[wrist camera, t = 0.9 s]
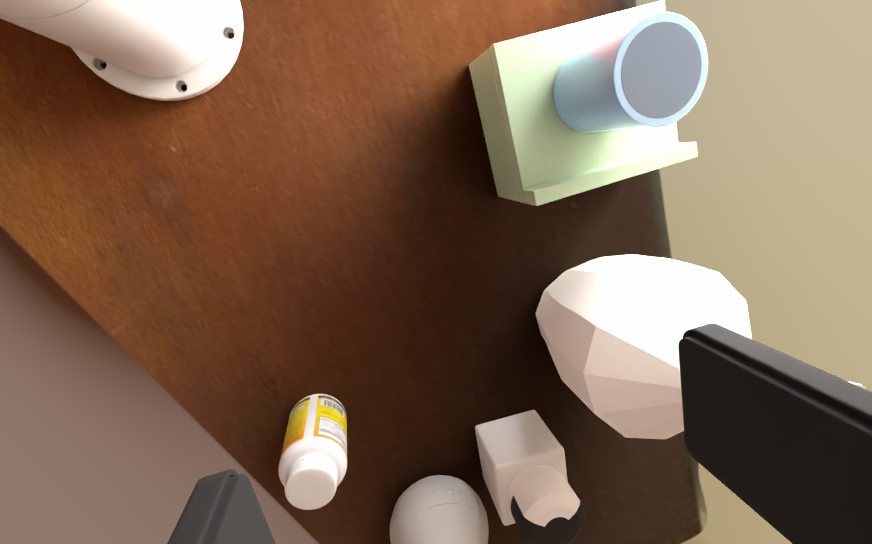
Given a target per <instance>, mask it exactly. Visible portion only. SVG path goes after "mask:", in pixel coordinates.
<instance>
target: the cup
mask: <svg viewBox="0 0 872 544" xmlns="http://www.w3.org/2000/svg"><path fill="white" fill-rule="evenodd" d="M707 72H708V55H707V49H706V45H705V42H704V40H703V37H702V35H701V34H700V32H699V30H698V29H697V28H696V26H695V25H694V24H693V23H692V22H691V21H689V20H688V19H687V18H685V17H683V16H681V15H678V14H675V13H670V12H660V13H655V14H652V15H649V16H647V17H645V18H643V19H641V20H639V21H637V22H634V23H632V24H630V25H628V26H626V27H624V28H622V29H620V30H618V31H616V32H614V33H612V34H610V35H608V36H606V37H603V38H601V39H599V40H597V41H595V42H593V43H591V44H589V45H587V46H585V47H583V48H581V49H579V50H577V51H575V52H574V53H572V54H571V55H570V56H569V57H568V58H567V59H566V60H565V61H564V62H563V64H562V65H561V67H560V69H559V71H558V73H557V76H556V79H555V83H554V90H553V96H554V103H555V107H556V110H557V113H558V115H559V117H560V118H561V120H562V121H563V122H564V123H565V124H566V125H567V126H568V127H569V128H570V129H572V130H574V131H576V132H578V133H582V134H599V133H608V132H617V131H627V130H636V129H645V128H654V127H662V126H667V125H669V124H672V123H674V122H676V121H678V120H679V119H681V118H682V117H683V116H685V115H686V114H687V113H688V112H689V111H690V110H691V109H692V107H693V106H694V105H695V103H696V102H697V101H698V99H699V97H700V95H701V93H702V91H703V88H704V85H705V82H706V78H707Z"/></svg>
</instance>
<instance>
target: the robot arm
mask: <svg viewBox="0 0 872 544" xmlns="http://www.w3.org/2000/svg"><path fill="white" fill-rule="evenodd" d="M0 18H1V19H3V20H6V21H8V22H10V23H13V24H15V25H18V26H20V27H23V28H25V29H28V30H30V31H33V32H35V33H37V34H40V35H42V36H45V37H47V38H50V39H52V40H55V41H57V42H60V43H62V44H64V45H67V46H69V47H71V48H72V49H73V51H74V52H75V53H76V54H77V56H78V57H79V58H80V59H81V61H82V62H83V63H84V64H85V65H87V66H88V67H89V68H90V69H91V70H92V71H93V72H94V73H95V74H96V75H98V76H99V77H101V78H102V79H104V80H105V81H107V82H108V83H110V84H111V85H113V86H115V87H117V88H119V89H121V90H124V91H126V92H128V93H130V94H133V95H136V96H140V97H143V98H148V99H153V100H159V101H179V100H184V99H189V98H193V97H196V96H198V95H201V94H203V93H205V92H207V91H209V90H210V89H212V88H213V87H214V86H216V85H217V84H219V83H220V82H221V81H222V80H223V78H224V77H225V76H226V75H227V74H228V73H229V72H230V70H231V68H232V66H233V65H234V63H235V61H236V59H237V57H238V54H239V51H240V47H241V44H242V36H243V15H242V8H241V4H240V0H0ZM229 33H234V38H232V39H230V38H229V37H228V35H229ZM104 63H106V65H107V66H106V68H105V69H104V68H103V64H104ZM183 85H186V86H187V90H186V91H183V90H182V86H183ZM678 349H679V364H680V378H681V393H682V407H683V422H684V436H685V444H686V447H687V449H688V451H689V453H690V454H691V455H692V457H693V458H694V459H695V460H696V461H698V462H699V463H700V464H701V465H702V466H703V467H705V468H706V469H707V470H708V471H709V472H710V473H711V474H713V475H714V476H715V477H716V478H717V479H718V480H720V481H721V482H722V483H723V484H724V485H725V486H726V487H728V488H729V489H730V490H731V491H732V492H734V493H735V494H736V495H737V496H738V497H739V498H740V499H742V500H743V501H744V502H745V503H746V504H747V505H749V506H750V507H751V508H752V509H753V510H755V512H757V513H758V514H759V515H760V516H761V517H762V518H764V519H765V520H766V521H767V522H768V523H769V524H771V525H772V526H773V527H774V528H775V529H776V530H777V531H779V532H780V533H781V534H782V535H783V536H784V537H786V538H787V539H788V540H789V541H790V542H791V543H793V544H872V392H871V391H868V390H866V389H864V388H862V387H859V386H857V385H855V384H852V383H850V382H848V381H846V380H843V379H841V378H839V377H837V376H834V375H832V374H830V373H827V372H825V371H823V370H820V369H818V368H816V367H814V366H812V365H809V364H807V363H805V362H802V361H800V360H798V359H796V358H793V357H791V356H789V355H787V354H784V353H782V352H780V351H777V350H775V349H773V348H771V347H768V346H766V345H764V344H762V343H759V342H757V341H755V340H752V339H750V338H748V337H746V336H743V335H741V334H739V333H737V332H734V331H732V330H730V329H727V328H725V327H723V326H721V325H718V324H715V323H709V324H705V325H702V326H699V327H696V328H692V329H689V330H687V331H685V332H684V334H683V339H681V340H680V341H679V345H678ZM167 544H275V541H274V539H273V537H272V534H271V532H270V529H269V527H268V524H267V522H266V520H265V517H264V515H263V512H262V510H261V507H260V505H259V503H258V500H257V498H256V495H255V493H254V491H253V488H252V486H251V483H250V481H249V479H248V477H247V475H246V474H240V475H238V474H237V473H236V471H235V470H233V469H229V470H226V471H223V472H220V473H217V474H213V475H210V476H206V477H203V478H201V479H200V480H199V481H198V482H197V484H196V486H195V488H194V490H193V492H192V494H191V496H190V498H189V500H188V502H187V505H186V506H185V509H184V510H183V513H182V515H181V517H180V519H179V521H178V523H177V525H176V527H175V529H174V531H173V533H172V535H171V537H170V539H169V542H168V543H167Z"/></svg>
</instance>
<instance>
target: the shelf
mask: <svg viewBox="0 0 872 544" xmlns="http://www.w3.org/2000/svg"><path fill="white" fill-rule="evenodd" d="M660 12H666V11H665V1H664V0H662V1H658V2H654V3H650V4H646V5H643V6H638V7H635V8H631V9H627V10H623V11H619V12H615V13H611V14H608V15H604V16H600V17H596V18H592V19H588V20H584V21H580V22H577V23H573V24H569V25H565V26H561V27H557V28H553V29H550V30H546V31H542V32H538V33H534V34H530V35H526V36H522V37H519V38H515V39H511V40H507V41H503V42H499V43H495V44H493V45H492V46H491V47H489V48H488V49H487V50H486V51H485V52H483V53H482V54H481V55H480V56H478V57H477V58H476V59H475V60H474V61H472V62H471V63H470V64H469V69H470V73H471V78H472V82H473V87H474V91H475V96H476V100H477V105H478V109H479V114H480V118H481V123H482V127H483V132H484V136H485V140H486V145H487V149H488V154H489V158H490V163H491V167H492V172H493V176H494V181H495V185H496V190H497V194H498V197H502V198H506V199H510V200H514V201H518V202H521V203H525V204H530V205H534V206H538V205H542V204H545V203H548V202H551V201H555V200H558V199H561V198H564V197H568V196H571V195H574V194H578V193H581V192H584V191H587V190H591V189H594V188H597V187H600V186H604V185H607V184H610V183H613V182H617V181H620V180H623V179H626V178H630V177H633V176H636V175H639V174H643V173H646V172H649V171H652V170H656V169H659V168H662V167H665V166H669V165H672V164H675V163H678V162H682V161H685V160H688V159H691V158H695V157H697V145H696V142H684V143H678V135H677V125H676V122H674V123H672V124H669V125H667V126H662V127H654V128H645V129H636V130H627V131H617V132H608V133H599V134H582V133H578V132H576V131H574V130H572V129H570V128H569V127H568V126H567V125H566V124H565V123H564V122H563V121H562V120H561V118H560V117H559V115H558V113H557V110H556V107H555V103H554V96H553V90H554V83H555V79H556V76H557V73H558V71H559V69H560V67H561V65H562V64H563V62H564V61H565V60H566V59H567V58H568V57H569V56H570V55H571V54H572V53H574V52H575V51H577V50H579V49H581V48H583V47H585V46H587V45H589V44H591V43H593V42H595V41H597V40H599V39H601V38H603V37H606V36H608V35H610V34H612V33H614V32H616V31H618V30H620V29H622V28H624V27H626V26H628V25H630V24H632V23H634V22H637V21H639V20H641V19H643V18H645V17H647V16H649V15H652V14H655V13H660Z"/></svg>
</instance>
